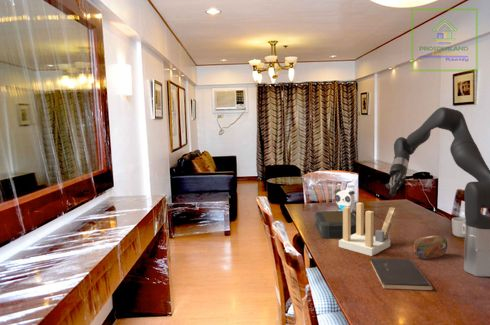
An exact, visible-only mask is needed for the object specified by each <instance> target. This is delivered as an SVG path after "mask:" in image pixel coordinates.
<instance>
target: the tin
mask: <svg viewBox="0 0 490 325" xmlns="http://www.w3.org/2000/svg"><path fill="white" fill-rule="evenodd" d="M412 248H413V254H414V255H415V256H416V257H418V258H420V259H422V260H427V259H428V260H429V259H433V258H438V257H441V256H443V255H445V254H446V252H447V249H448V242H447V239H446V238H445V237H444V236H442V235H441V236H440V235H429V236H423V237H418V238H417V239H416V240H414V242H413V246H412Z"/></svg>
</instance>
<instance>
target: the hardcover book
mask: <svg viewBox="0 0 490 325" xmlns="http://www.w3.org/2000/svg"><path fill="white" fill-rule="evenodd" d="M369 260H370V263H371V265H372V268H373V270H374V272H375V274H376V276H377V278H378V280H379V283H380V284H381V287H382V288H383V289H389V290H390V289H392V290H394V289H395V290H414V291H415V290H416V291H417V290H419V291H434V286H433V285H432V283H431V282H430V280H428V278H427V276H426V275H425V274H424V273H423V272H422V271H421V269H420V268H419V266H417V264H416V263H415V262H414V261H413V259H411V258H399V257H398V258H394V257H393V258H390V257H389V258H387V257H369Z"/></svg>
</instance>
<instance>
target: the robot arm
mask: <svg viewBox="0 0 490 325" xmlns="http://www.w3.org/2000/svg"><path fill="white" fill-rule="evenodd" d="M436 128H438V129H441V130H445V131H449V132H450V133H451V134H452V136H453V137H454V138H453V140H452V142H451V144H450V148H449V151H450V153H451V157H452V159H453V161H454V163H455V164H456V166H457V167H459V168H460V169H461V170H463V171H464V172H466V173H467V174H469V175H471V177H474V179H475V180H476V181H469V182H467V183H466V184H465V188H464V193H463V194H464V196H463V197H464V218H465V220H466V223H465V237H464V250H463V251H464V254H463V270H464V271H465V272H466V273H468V274H471V275H473V276H474V277H490V216H489V215H486V214H483V213H482V212H481V208H490V168H489V166H488V165H487V163H486V162H485V159H484V157H483V155H482V153H481V152H480V149H479V148H478V145H477V143H476V142H475V140H474V138H473V137H472V136H473V135H472V134H471V132H470V130H469V127H468V124H467V122H466V119H465V116H464V114H463V113H462V112H461V111H460V110H457V109H454V108H449V107H446V106H445V107H444V106H443V107H439V108H437V109H436V110H435V111H434V112H433V113H432V114H431V115H430V116H429V117H427V119H426V120H425V121H424V122H423V123H422V124H421V126H419V127H418V128H417V129H416V130H414V131H413V132H411V133H410V134H408V135H407V137H406V138H405V137H403V136H402V137H397V138H396V140H395V141H394V144H393V152H394V157H393V161H392V163H391V166H390V170H389V173H388V175H389V177H390V179H389V182H388V183H385V187H386V188H387V189H388V190H389V195H390V196H391V197H394V196H396V194H397V190H398V189H399V188H400V187H401V186H402V185H403V183H404V182H405V181H406V179H407V177H408V176H407V173H408V170H409V169H408V168H409V162H410V157H411V155H413V154H414V153H415V151H416V150H417V149H418V148H419V146H421V145H423V144H424V143H425V142H426V141H428V140H429V139H430V136H431V133H432V130H433V129H434V130H435V129H436Z"/></svg>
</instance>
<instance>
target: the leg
mask: <svg viewBox="0 0 490 325" xmlns="http://www.w3.org/2000/svg"><path fill="white" fill-rule="evenodd" d="M396 214H397V209H396V207H391V206H390V207H389V208H388V211H387V214H386V217H385V219H384V221H383V224H382V228H381V229H380V230H381V231H384V239H385V240H386V239H387V236H388V234H390V230H391V228H392V226H393V225H392V224H393V222H394V220H395V217H396Z"/></svg>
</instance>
